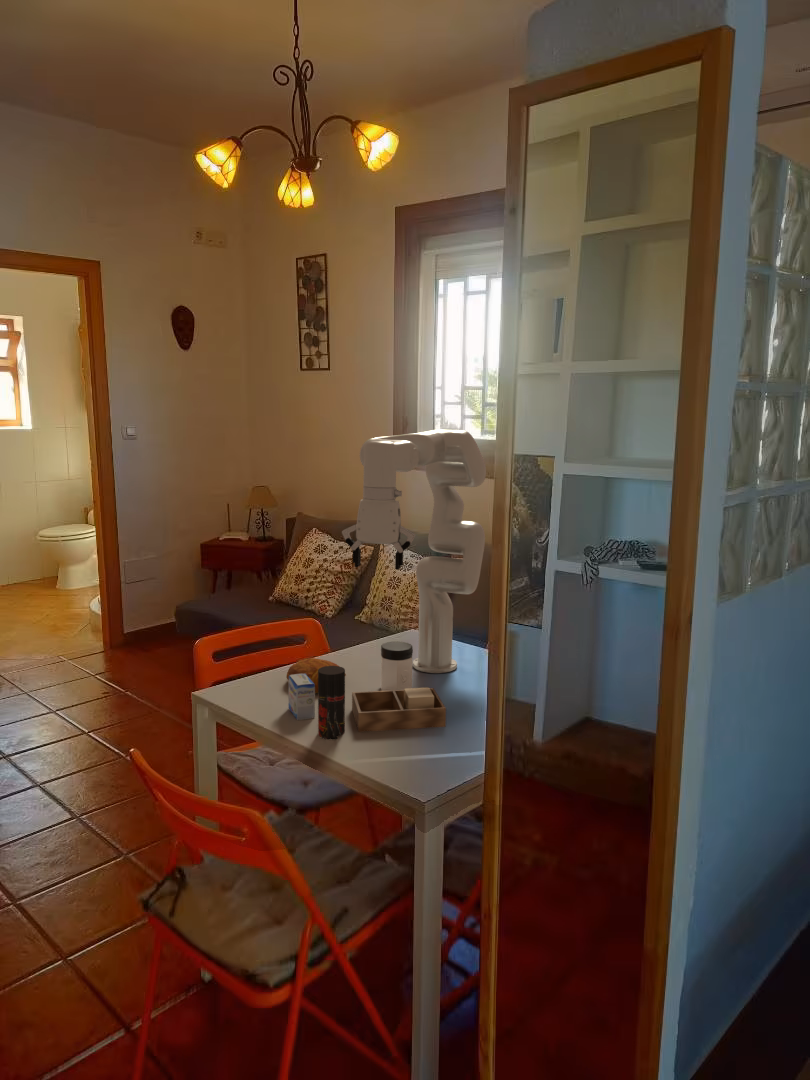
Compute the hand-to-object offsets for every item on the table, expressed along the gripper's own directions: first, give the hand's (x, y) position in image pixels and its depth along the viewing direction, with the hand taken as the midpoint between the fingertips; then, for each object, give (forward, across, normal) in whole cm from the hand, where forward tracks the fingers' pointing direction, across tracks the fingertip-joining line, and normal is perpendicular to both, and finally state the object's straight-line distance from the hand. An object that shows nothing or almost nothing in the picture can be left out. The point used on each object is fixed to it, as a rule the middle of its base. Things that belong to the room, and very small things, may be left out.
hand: (377, 567), depth 185 cm
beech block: (+35, -11, +2) cm, 37 cm away
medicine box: (+36, +17, +4) cm, 40 cm away
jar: (+35, -2, -16) cm, 39 cm away
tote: (+36, -6, +4) cm, 36 cm away
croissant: (+36, +19, -15) cm, 43 cm away
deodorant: (+36, +7, +14) cm, 39 cm away
